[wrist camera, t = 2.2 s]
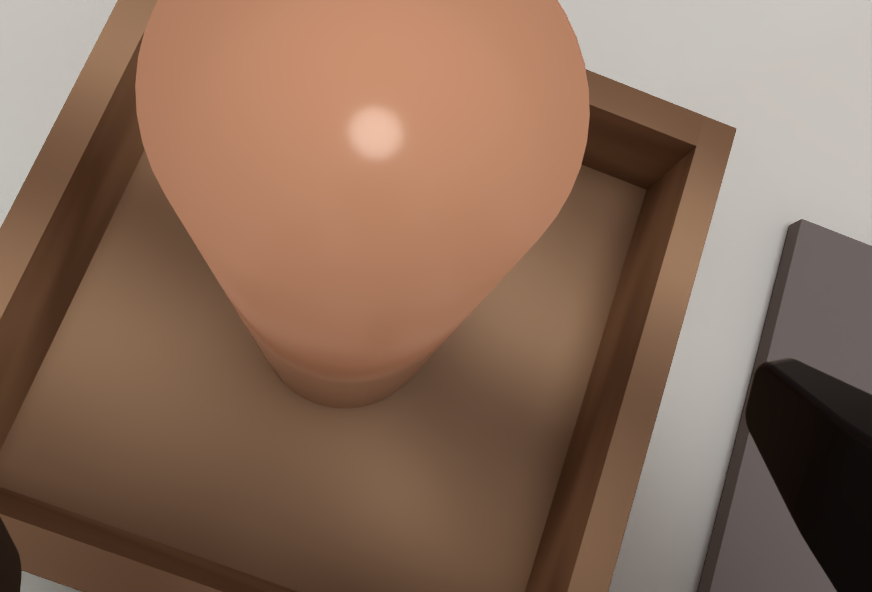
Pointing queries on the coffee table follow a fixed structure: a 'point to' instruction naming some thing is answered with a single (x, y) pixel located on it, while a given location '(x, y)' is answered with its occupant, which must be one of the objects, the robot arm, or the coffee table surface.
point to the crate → (325, 426)
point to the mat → (782, 338)
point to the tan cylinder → (361, 166)
